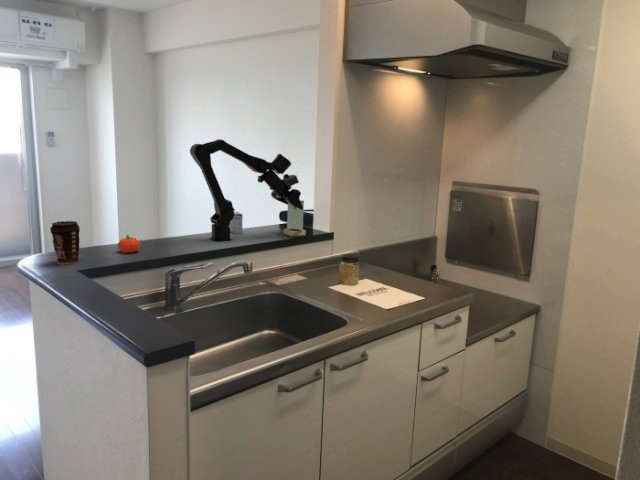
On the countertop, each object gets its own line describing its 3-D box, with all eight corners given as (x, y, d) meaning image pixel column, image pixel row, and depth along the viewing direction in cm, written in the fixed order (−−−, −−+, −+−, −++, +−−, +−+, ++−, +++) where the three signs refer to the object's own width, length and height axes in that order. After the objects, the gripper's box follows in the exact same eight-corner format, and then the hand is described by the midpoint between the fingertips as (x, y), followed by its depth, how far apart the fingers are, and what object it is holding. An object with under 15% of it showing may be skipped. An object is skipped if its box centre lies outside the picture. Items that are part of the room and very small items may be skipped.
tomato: (126, 256, 181) (123, 239, 179) (115, 252, 186) (112, 235, 184) (145, 251, 185) (142, 234, 184) (134, 247, 191) (131, 230, 189)
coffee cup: (62, 258, 173) (59, 219, 171) (86, 259, 173) (84, 220, 171) (47, 264, 165) (44, 224, 162) (73, 265, 165) (71, 225, 162)
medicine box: (227, 230, 230) (227, 211, 228) (237, 230, 232) (237, 211, 230) (232, 234, 223) (232, 214, 221) (242, 233, 224) (242, 213, 223)
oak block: (291, 237, 222) (291, 231, 221) (283, 234, 228) (283, 228, 227) (305, 236, 226) (305, 230, 225) (297, 233, 231) (297, 227, 231)
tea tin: (292, 229, 222) (293, 200, 221) (286, 228, 226) (287, 200, 226) (303, 229, 225) (304, 200, 224) (297, 228, 229) (298, 200, 228)
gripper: (297, 170, 211) (320, 196, 218) (278, 166, 227) (300, 191, 234) (279, 190, 209) (303, 216, 216) (261, 185, 225) (283, 209, 232)
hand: (297, 207), depth 225 cm, fingers open, 9 cm apart
